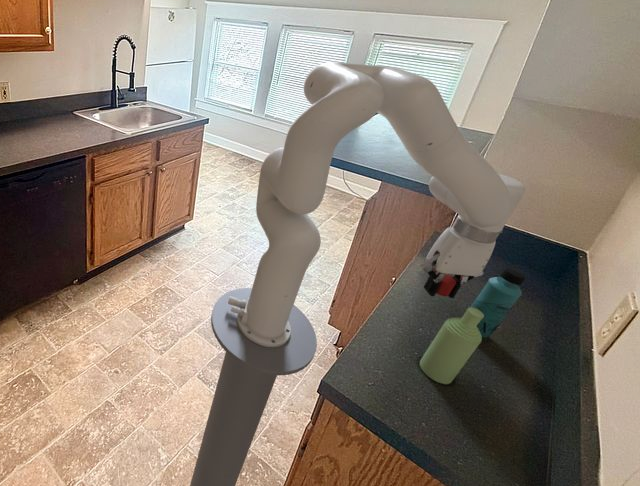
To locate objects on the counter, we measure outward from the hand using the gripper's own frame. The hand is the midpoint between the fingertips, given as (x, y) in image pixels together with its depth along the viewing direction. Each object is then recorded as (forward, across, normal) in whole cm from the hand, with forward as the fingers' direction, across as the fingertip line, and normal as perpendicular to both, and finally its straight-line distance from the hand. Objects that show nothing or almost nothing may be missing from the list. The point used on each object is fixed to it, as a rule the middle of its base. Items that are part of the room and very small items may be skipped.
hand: (438, 292), depth 90 cm
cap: (-1, 0, 0) cm, 1 cm away
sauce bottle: (+12, +2, +12) cm, 17 cm away
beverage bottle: (+13, -15, -1) cm, 20 cm away
